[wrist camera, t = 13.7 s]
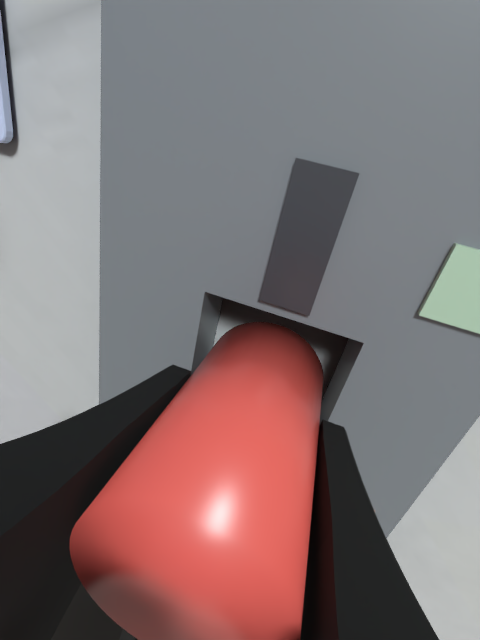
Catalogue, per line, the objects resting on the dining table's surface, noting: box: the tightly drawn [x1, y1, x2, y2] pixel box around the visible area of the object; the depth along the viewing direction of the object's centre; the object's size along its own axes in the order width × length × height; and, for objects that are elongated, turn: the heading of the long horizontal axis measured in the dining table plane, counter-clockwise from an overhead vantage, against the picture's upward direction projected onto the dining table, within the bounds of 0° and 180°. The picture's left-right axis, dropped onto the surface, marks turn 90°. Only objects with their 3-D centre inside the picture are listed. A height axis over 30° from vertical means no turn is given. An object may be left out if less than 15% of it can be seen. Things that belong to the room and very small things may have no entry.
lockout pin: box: [69, 322, 323, 640], centre depth 9 cm, size 4×4×7 cm
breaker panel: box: [99, 0, 480, 538], centre depth 12 cm, size 13×22×3 cm, turn 167°
